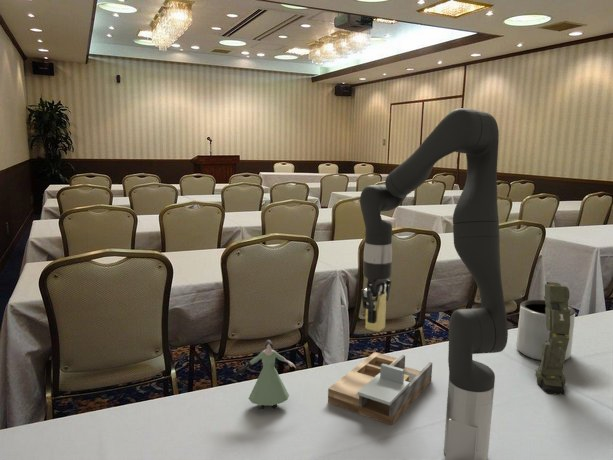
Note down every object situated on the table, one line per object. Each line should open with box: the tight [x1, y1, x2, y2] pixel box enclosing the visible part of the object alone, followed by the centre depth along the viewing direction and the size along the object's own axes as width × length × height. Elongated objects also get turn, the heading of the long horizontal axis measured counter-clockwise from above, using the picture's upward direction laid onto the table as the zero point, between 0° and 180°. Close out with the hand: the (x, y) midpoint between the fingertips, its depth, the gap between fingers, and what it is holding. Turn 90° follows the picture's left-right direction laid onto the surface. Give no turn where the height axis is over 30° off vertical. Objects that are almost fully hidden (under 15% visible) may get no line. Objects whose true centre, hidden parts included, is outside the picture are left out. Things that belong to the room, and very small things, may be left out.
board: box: [327, 351, 433, 426], centre depth 135 cm, size 27×18×6 cm, turn 146°
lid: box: [358, 364, 410, 405], centre depth 125 cm, size 12×9×4 cm
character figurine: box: [234, 339, 297, 411], centre depth 126 cm, size 16×8×18 cm, turn 100°
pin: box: [365, 292, 387, 332], centre depth 136 cm, size 4×4×10 cm
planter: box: [515, 299, 576, 362], centre depth 160 cm, size 16×16×16 cm
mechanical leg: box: [534, 281, 571, 396], centre depth 139 cm, size 14×7×30 cm, turn 168°
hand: (375, 319), depth 136 cm, fingers closed on pin, 4 cm apart
